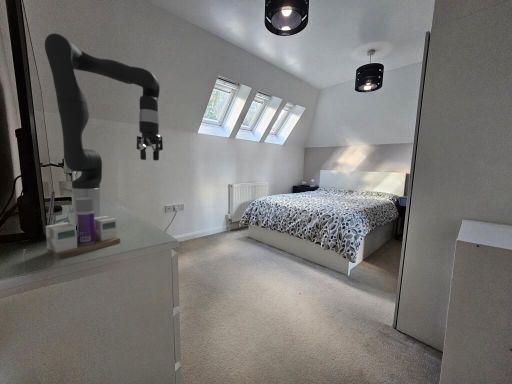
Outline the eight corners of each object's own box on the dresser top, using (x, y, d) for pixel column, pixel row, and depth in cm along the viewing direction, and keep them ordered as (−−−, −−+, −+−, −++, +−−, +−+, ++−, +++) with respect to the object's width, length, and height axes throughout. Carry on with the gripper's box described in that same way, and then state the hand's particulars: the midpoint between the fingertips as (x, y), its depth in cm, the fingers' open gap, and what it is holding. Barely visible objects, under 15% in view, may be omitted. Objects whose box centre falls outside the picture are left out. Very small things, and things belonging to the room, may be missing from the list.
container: (98, 240, 74) (97, 198, 72) (86, 245, 69) (84, 200, 68) (86, 239, 74) (84, 197, 73) (73, 244, 70) (71, 199, 68)
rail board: (47, 252, 67) (45, 225, 66) (106, 237, 82) (105, 215, 80) (60, 259, 62) (58, 231, 61) (120, 242, 77) (119, 219, 76)
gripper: (130, 121, 92) (131, 159, 94) (152, 119, 85) (152, 160, 87) (146, 124, 99) (146, 160, 101) (167, 123, 92) (167, 161, 94)
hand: (149, 160), depth 94 cm, fingers open, 8 cm apart
